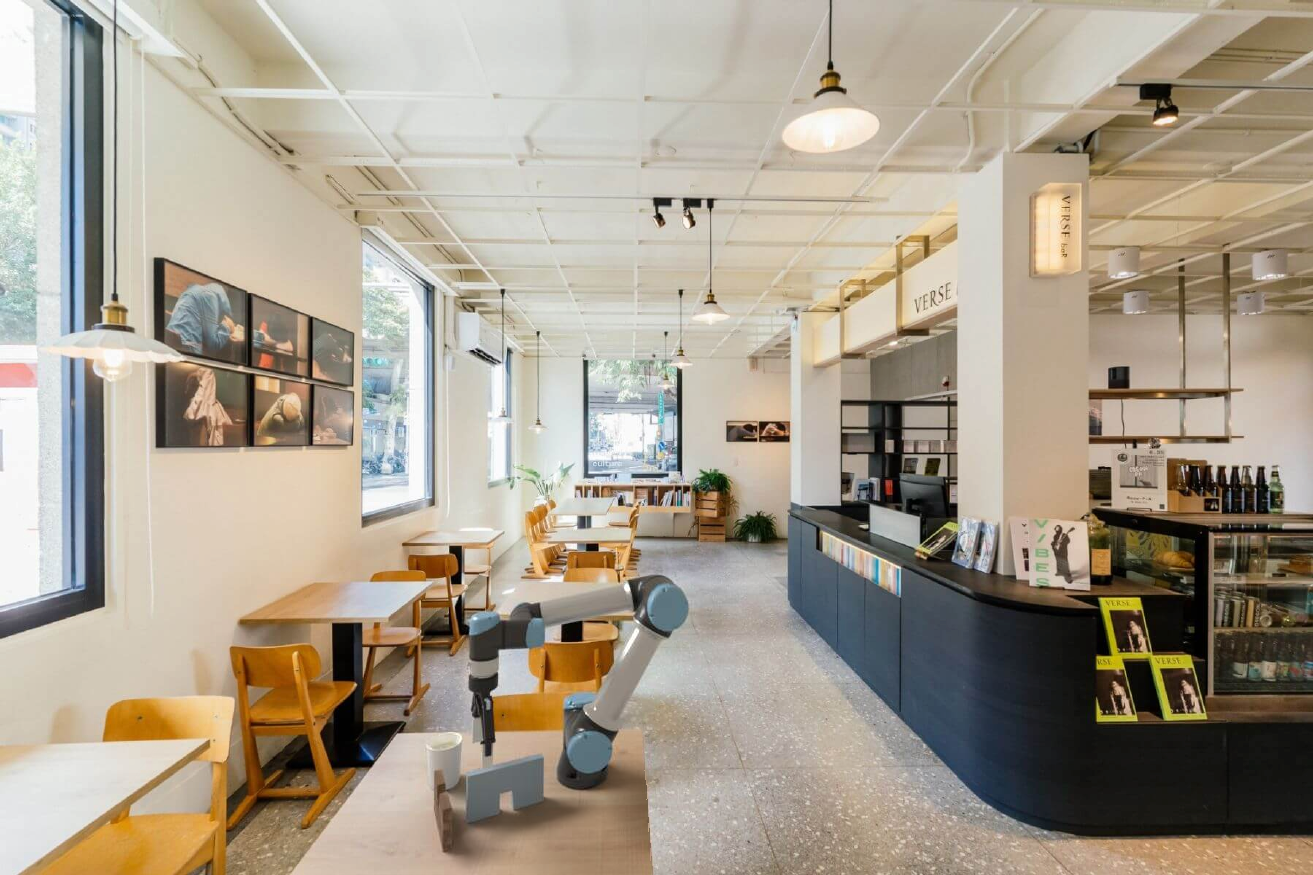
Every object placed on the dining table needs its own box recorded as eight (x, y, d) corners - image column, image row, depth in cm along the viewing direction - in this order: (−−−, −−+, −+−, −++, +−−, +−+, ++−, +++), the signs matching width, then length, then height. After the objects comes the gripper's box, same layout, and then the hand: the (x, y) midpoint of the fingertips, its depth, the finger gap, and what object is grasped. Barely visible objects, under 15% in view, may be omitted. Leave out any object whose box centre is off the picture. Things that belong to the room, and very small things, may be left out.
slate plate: (540, 796, 158) (541, 752, 158) (543, 801, 156) (543, 757, 156) (465, 817, 149) (466, 771, 149) (467, 823, 147) (467, 776, 147)
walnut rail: (441, 806, 153) (442, 768, 153) (451, 848, 137) (451, 807, 137) (433, 808, 152) (434, 770, 152) (442, 851, 136) (442, 809, 136)
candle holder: (450, 795, 158) (450, 751, 158) (418, 790, 160) (419, 747, 160) (468, 774, 168) (469, 733, 168) (438, 770, 170) (439, 730, 170)
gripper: (461, 658, 159) (459, 734, 159) (477, 694, 137) (475, 783, 137) (488, 654, 163) (487, 729, 162) (509, 688, 140) (507, 775, 140)
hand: (481, 753), depth 150 cm, fingers open, 13 cm apart
